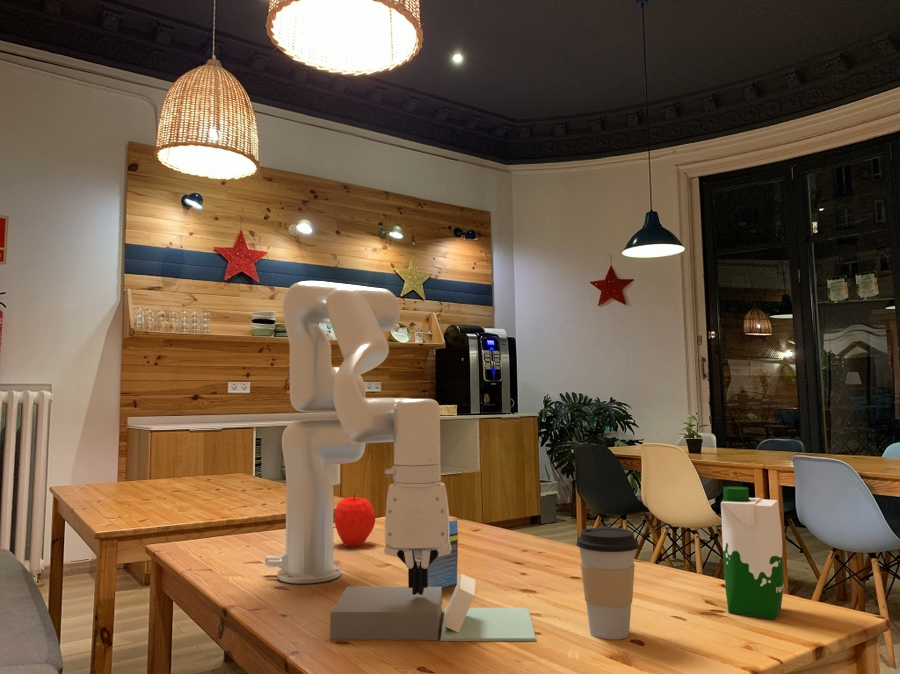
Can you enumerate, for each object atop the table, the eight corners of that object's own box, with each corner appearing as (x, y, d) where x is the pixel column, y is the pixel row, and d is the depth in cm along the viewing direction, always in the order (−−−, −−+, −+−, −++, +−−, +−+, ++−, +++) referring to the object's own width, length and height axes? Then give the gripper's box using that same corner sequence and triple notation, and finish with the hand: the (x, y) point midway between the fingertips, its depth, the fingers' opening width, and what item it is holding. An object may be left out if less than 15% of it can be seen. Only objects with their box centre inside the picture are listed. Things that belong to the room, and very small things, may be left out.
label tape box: (444, 580, 136) (443, 517, 137) (459, 584, 134) (458, 519, 135) (410, 590, 130) (410, 523, 131) (425, 594, 127) (425, 525, 128)
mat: (440, 640, 102) (440, 638, 102) (445, 610, 117) (445, 607, 117) (535, 641, 102) (535, 638, 102) (528, 610, 117) (528, 607, 117)
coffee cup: (571, 624, 109) (569, 527, 111) (629, 622, 110) (626, 525, 111) (588, 645, 100) (585, 538, 101) (652, 642, 101) (648, 537, 102)
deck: (330, 639, 103) (330, 612, 104) (347, 611, 117) (347, 586, 118) (437, 639, 103) (437, 611, 103) (441, 611, 117) (441, 586, 117)
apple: (383, 543, 172) (383, 493, 173) (357, 551, 164) (357, 498, 165) (352, 539, 177) (352, 491, 178) (325, 547, 169) (326, 496, 170)
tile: (459, 588, 105) (474, 595, 105) (461, 573, 114) (475, 580, 114) (443, 625, 105) (458, 632, 105) (447, 607, 114) (460, 614, 114)
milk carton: (731, 600, 121) (726, 484, 123) (788, 608, 116) (782, 487, 118) (721, 613, 114) (715, 489, 115) (782, 622, 109) (775, 493, 111)
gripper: (367, 478, 109) (367, 599, 107) (463, 477, 108) (464, 599, 106) (374, 473, 116) (375, 586, 114) (464, 472, 115) (465, 586, 114)
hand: (418, 592), depth 110 cm, fingers closed
